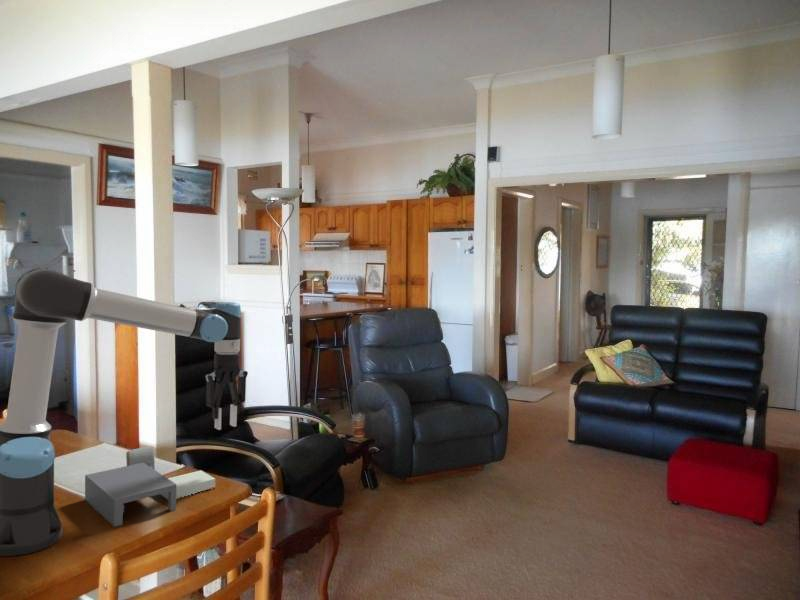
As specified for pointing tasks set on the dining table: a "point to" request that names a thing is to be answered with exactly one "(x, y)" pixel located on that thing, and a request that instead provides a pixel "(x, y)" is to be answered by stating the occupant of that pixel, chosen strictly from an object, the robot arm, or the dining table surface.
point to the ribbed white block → (191, 483)
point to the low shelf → (125, 489)
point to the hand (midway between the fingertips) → (225, 427)
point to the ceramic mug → (141, 456)
